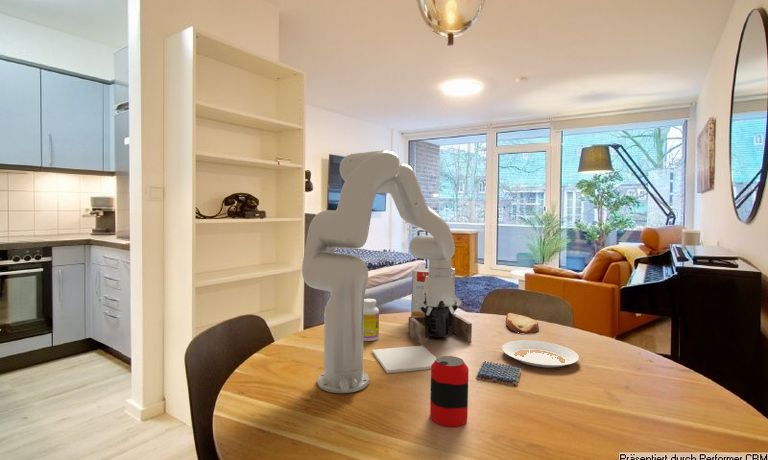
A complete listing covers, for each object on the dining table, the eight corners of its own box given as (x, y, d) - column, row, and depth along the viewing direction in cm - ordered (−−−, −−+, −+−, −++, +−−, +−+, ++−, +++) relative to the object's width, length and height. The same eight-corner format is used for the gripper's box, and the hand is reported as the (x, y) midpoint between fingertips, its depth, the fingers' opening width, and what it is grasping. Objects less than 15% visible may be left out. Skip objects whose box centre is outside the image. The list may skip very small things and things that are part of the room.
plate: (503, 368, 111) (503, 360, 111) (500, 344, 131) (500, 337, 131) (586, 377, 106) (587, 368, 106) (570, 350, 126) (570, 343, 126)
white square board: (443, 367, 111) (443, 364, 111) (387, 373, 106) (387, 370, 106) (422, 348, 126) (422, 345, 126) (372, 352, 122) (372, 349, 122)
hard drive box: (410, 323, 153) (411, 270, 152) (414, 318, 161) (415, 268, 160) (451, 327, 149) (452, 273, 148) (454, 321, 156) (455, 270, 155)
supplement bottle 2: (435, 330, 141) (435, 296, 141) (452, 334, 137) (453, 298, 136) (423, 334, 136) (424, 299, 135) (441, 339, 131) (442, 302, 131)
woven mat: (522, 373, 109) (522, 365, 109) (517, 388, 99) (518, 380, 99) (482, 366, 113) (482, 359, 113) (474, 381, 103) (474, 373, 103)
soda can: (422, 417, 84) (423, 360, 83) (444, 405, 89) (446, 351, 89) (452, 432, 78) (454, 371, 78) (474, 418, 84) (476, 361, 83)
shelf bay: (471, 341, 133) (471, 323, 132) (421, 345, 128) (421, 327, 128) (455, 330, 144) (455, 314, 144) (408, 334, 140) (408, 317, 139)
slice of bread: (512, 317, 165) (512, 308, 165) (554, 328, 151) (554, 318, 151) (483, 324, 154) (484, 314, 154) (525, 336, 140) (525, 326, 140)
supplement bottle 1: (378, 342, 131) (378, 302, 131) (357, 341, 131) (358, 302, 131) (379, 335, 138) (379, 298, 137) (359, 335, 138) (359, 297, 137)
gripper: (458, 270, 141) (457, 321, 142) (411, 271, 137) (410, 324, 137) (468, 273, 134) (467, 327, 135) (419, 274, 129) (417, 330, 130)
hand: (438, 325), depth 136 cm, fingers closed on supplement bottle 2, 6 cm apart
